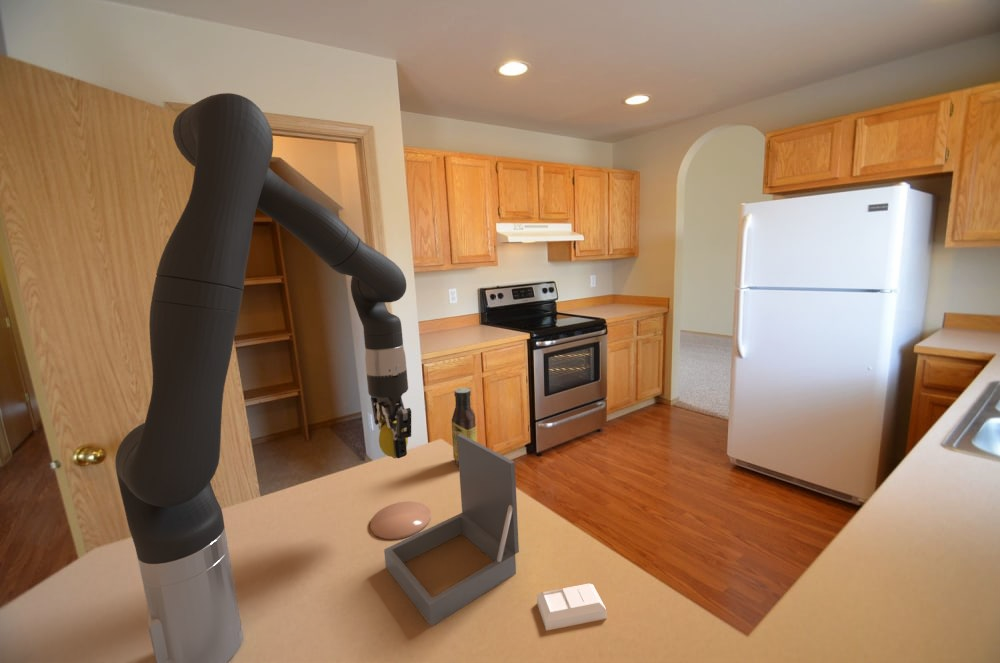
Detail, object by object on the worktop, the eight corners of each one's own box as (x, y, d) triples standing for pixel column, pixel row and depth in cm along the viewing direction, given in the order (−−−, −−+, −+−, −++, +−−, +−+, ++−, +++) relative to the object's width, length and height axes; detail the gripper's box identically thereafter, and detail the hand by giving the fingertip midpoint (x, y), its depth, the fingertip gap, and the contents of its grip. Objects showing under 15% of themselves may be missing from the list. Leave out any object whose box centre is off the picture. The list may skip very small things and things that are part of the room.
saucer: (385, 548, 78) (384, 545, 78) (361, 519, 88) (361, 516, 88) (441, 521, 85) (441, 518, 85) (414, 497, 95) (414, 495, 95)
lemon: (375, 463, 83) (371, 424, 81) (390, 451, 88) (387, 414, 86) (400, 465, 81) (396, 426, 80) (414, 453, 86) (411, 415, 85)
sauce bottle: (450, 460, 112) (445, 388, 109) (472, 455, 115) (468, 384, 111) (459, 470, 106) (453, 395, 103) (481, 465, 109) (477, 390, 106)
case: (431, 627, 61) (420, 502, 58) (385, 567, 73) (375, 462, 70) (519, 570, 71) (514, 462, 68) (466, 527, 83) (460, 433, 80)
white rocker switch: (606, 620, 61) (606, 604, 60) (546, 633, 59) (545, 616, 59) (593, 594, 66) (592, 579, 65) (537, 605, 64) (536, 590, 64)
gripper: (354, 366, 85) (362, 446, 87) (382, 380, 73) (391, 470, 76) (389, 360, 89) (396, 435, 92) (421, 371, 78) (428, 457, 81)
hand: (394, 451), depth 84 cm, fingers closed on lemon, 5 cm apart
